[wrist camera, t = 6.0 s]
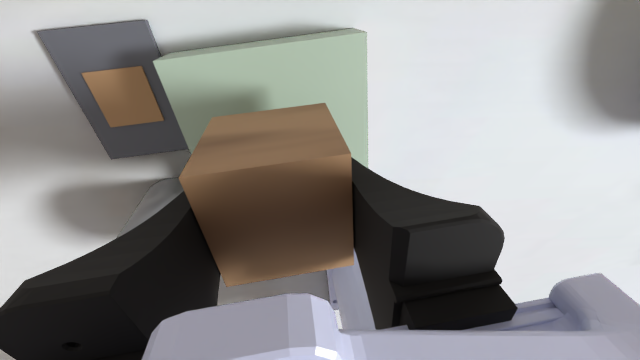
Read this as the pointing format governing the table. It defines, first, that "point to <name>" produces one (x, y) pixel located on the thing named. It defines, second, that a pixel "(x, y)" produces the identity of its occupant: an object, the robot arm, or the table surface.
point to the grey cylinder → (153, 202)
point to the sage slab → (272, 82)
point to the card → (117, 86)
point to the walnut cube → (273, 193)
